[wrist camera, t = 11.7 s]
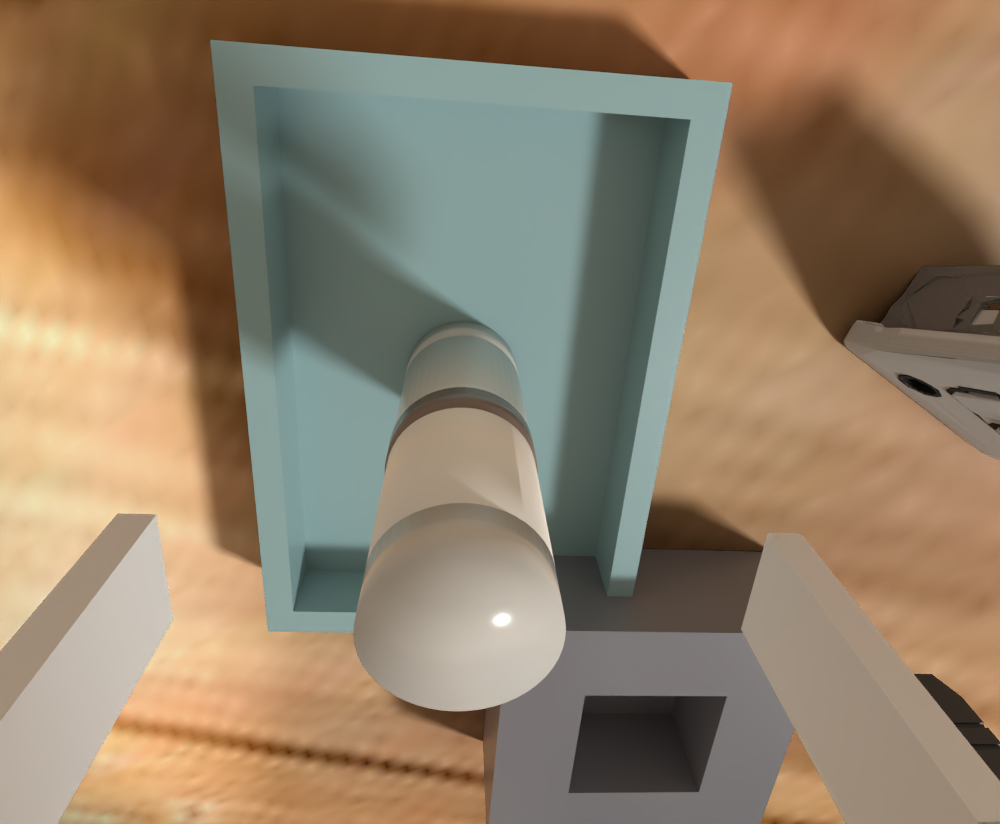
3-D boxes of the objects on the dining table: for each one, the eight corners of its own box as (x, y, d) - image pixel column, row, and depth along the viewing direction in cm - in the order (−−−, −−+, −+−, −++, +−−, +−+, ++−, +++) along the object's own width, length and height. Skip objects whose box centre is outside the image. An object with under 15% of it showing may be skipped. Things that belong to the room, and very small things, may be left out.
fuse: (513, 426, 25) (556, 713, 14) (405, 422, 25) (353, 712, 13) (522, 323, 24) (581, 551, 12) (406, 316, 23) (347, 544, 12)
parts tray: (609, 585, 30) (624, 635, 27) (286, 579, 29) (268, 631, 26) (696, 84, 21) (732, 82, 18) (244, 47, 20) (210, 39, 17)
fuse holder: (720, 742, 34) (759, 839, 30) (483, 742, 33) (487, 842, 29) (777, 551, 29) (835, 634, 25) (500, 545, 28) (508, 630, 24)
